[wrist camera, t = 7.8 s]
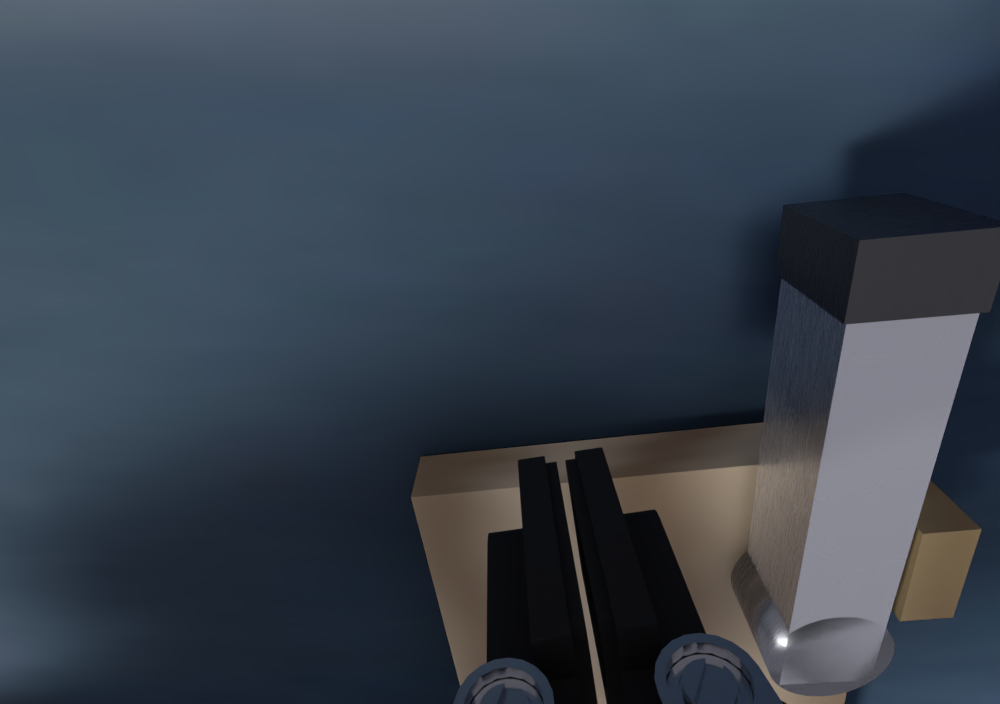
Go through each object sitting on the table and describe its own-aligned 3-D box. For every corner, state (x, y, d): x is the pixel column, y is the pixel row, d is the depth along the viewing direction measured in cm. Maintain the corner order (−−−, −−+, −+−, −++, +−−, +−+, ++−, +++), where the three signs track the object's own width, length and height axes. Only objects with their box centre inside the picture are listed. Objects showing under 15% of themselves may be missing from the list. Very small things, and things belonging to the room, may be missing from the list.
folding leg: (827, 603, 18) (883, 697, 15) (725, 609, 18) (763, 702, 15) (919, 191, 12) (1035, 224, 10) (770, 206, 12) (841, 241, 10)
